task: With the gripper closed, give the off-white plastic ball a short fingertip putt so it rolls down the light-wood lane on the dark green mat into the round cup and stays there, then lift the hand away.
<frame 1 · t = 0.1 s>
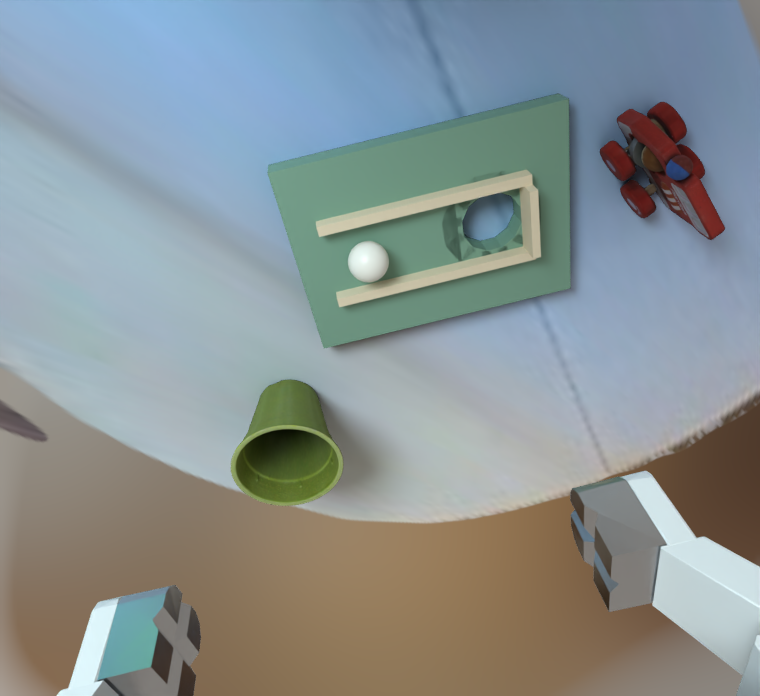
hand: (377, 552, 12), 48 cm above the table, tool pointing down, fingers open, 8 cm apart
ball: (368, 261, 56), point 4 cm above the table, touching putting mat
plant pot: (288, 400, 70), on the table
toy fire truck: (639, 155, 58), on the table
putting mat: (428, 226, 59), on the table
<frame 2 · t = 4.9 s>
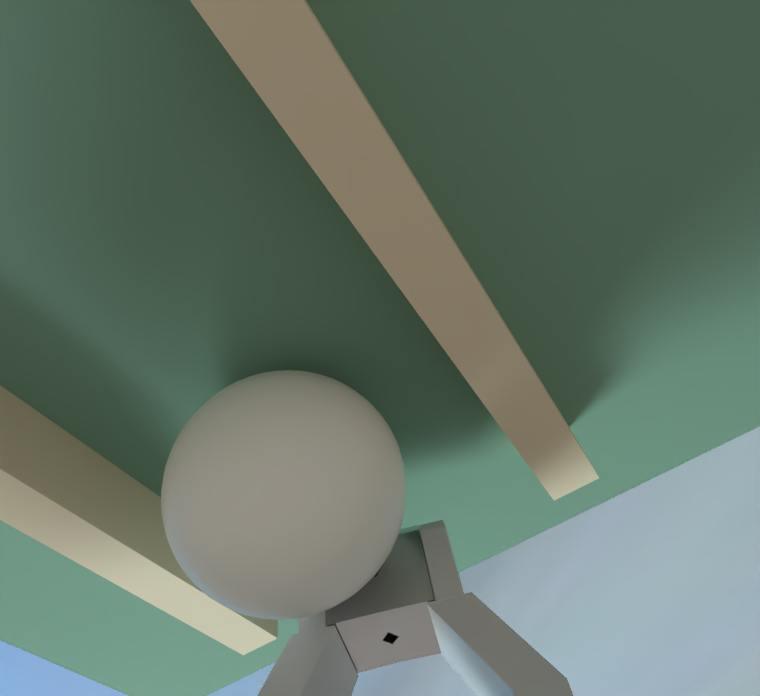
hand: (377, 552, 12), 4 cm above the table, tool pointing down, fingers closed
ball: (287, 488, 10), point 5 cm above the table, touching gripper
putting mat: (37, 76, 10), on the table
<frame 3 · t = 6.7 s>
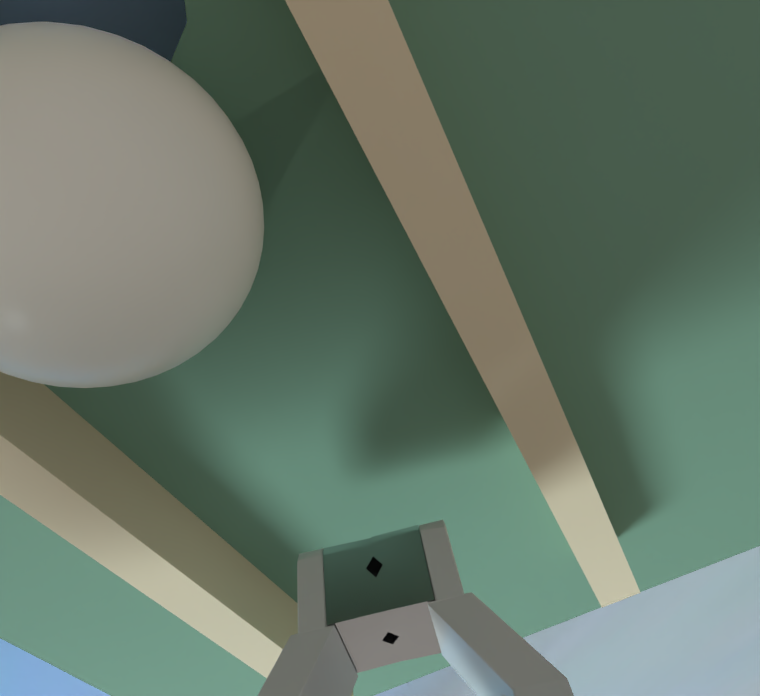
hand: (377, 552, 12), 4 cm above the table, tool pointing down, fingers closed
ball: (90, 217, 7), point 4 cm above the table, tilted 73°, touching putting mat
putting mat: (233, 252, 12), on the table
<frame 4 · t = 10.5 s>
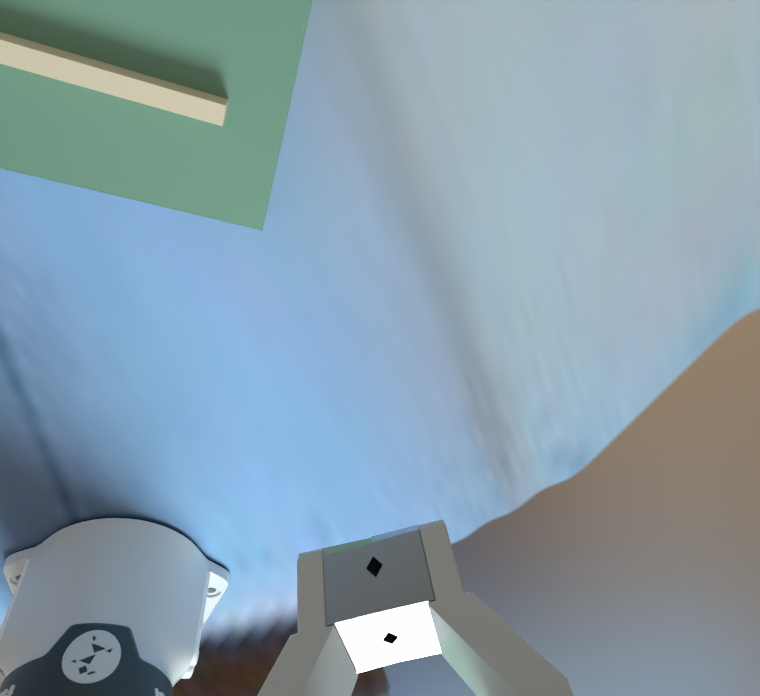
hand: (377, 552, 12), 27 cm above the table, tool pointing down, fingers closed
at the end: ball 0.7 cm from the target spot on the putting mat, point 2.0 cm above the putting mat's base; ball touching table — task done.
